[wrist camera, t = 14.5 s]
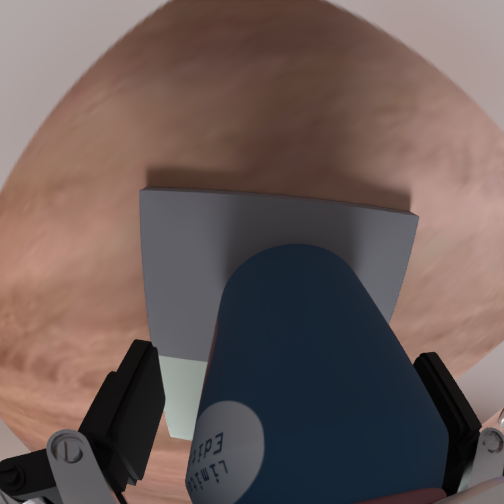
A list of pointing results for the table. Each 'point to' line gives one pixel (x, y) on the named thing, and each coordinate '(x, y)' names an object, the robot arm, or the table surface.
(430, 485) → the soda can
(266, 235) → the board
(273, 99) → the table surface
